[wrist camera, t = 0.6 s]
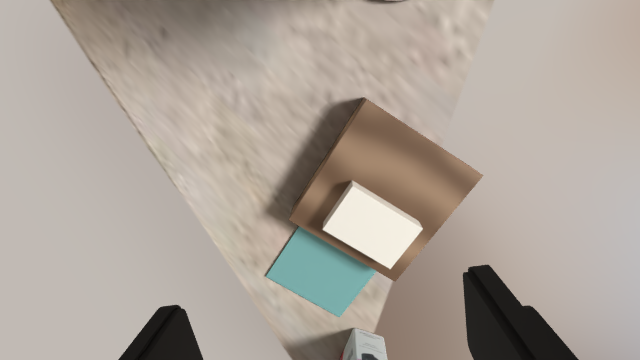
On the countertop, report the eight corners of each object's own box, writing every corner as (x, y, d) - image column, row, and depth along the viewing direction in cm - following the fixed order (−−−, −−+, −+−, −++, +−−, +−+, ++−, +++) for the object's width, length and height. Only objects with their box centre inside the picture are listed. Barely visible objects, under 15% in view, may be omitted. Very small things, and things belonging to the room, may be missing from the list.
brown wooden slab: (363, 97, 37) (366, 99, 33) (469, 165, 38) (483, 175, 35) (293, 206, 41) (288, 219, 38) (390, 263, 43) (395, 281, 39)
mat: (305, 216, 42) (305, 217, 41) (382, 261, 43) (382, 262, 43) (266, 275, 45) (265, 276, 44) (339, 315, 46) (339, 317, 46)
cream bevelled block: (352, 180, 36) (352, 186, 34) (418, 220, 37) (423, 228, 35) (323, 221, 37) (322, 229, 35) (387, 259, 38) (390, 269, 36)
